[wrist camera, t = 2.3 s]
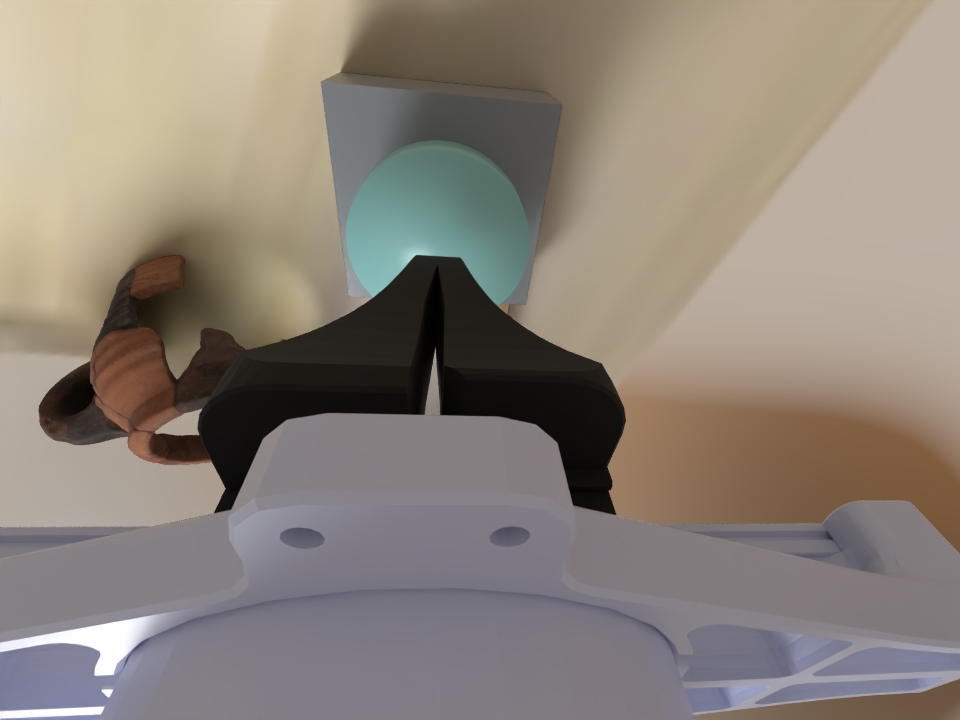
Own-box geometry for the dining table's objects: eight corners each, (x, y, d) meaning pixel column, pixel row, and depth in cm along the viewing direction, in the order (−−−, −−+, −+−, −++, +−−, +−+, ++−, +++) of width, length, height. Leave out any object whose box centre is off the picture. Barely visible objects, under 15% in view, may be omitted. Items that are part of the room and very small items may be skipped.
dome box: (517, 273, 22) (525, 304, 19) (360, 265, 21) (348, 296, 18) (546, 92, 16) (562, 104, 14) (340, 72, 16) (321, 81, 13)
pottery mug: (223, 213, 19) (252, 358, 16) (317, 314, 28) (349, 423, 25) (-33, 314, 19) (-59, 489, 15) (145, 386, 27) (154, 508, 24)
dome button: (504, 273, 19) (516, 328, 16) (373, 266, 19) (355, 322, 15) (524, 128, 15) (545, 159, 12) (360, 114, 15) (333, 142, 12)
